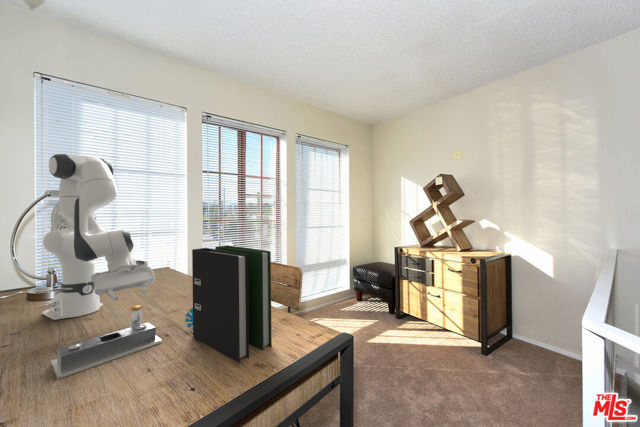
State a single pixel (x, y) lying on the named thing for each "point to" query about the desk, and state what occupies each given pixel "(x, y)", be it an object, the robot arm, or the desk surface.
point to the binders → (232, 299)
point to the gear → (189, 319)
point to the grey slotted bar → (103, 349)
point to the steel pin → (135, 315)
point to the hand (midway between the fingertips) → (130, 296)
